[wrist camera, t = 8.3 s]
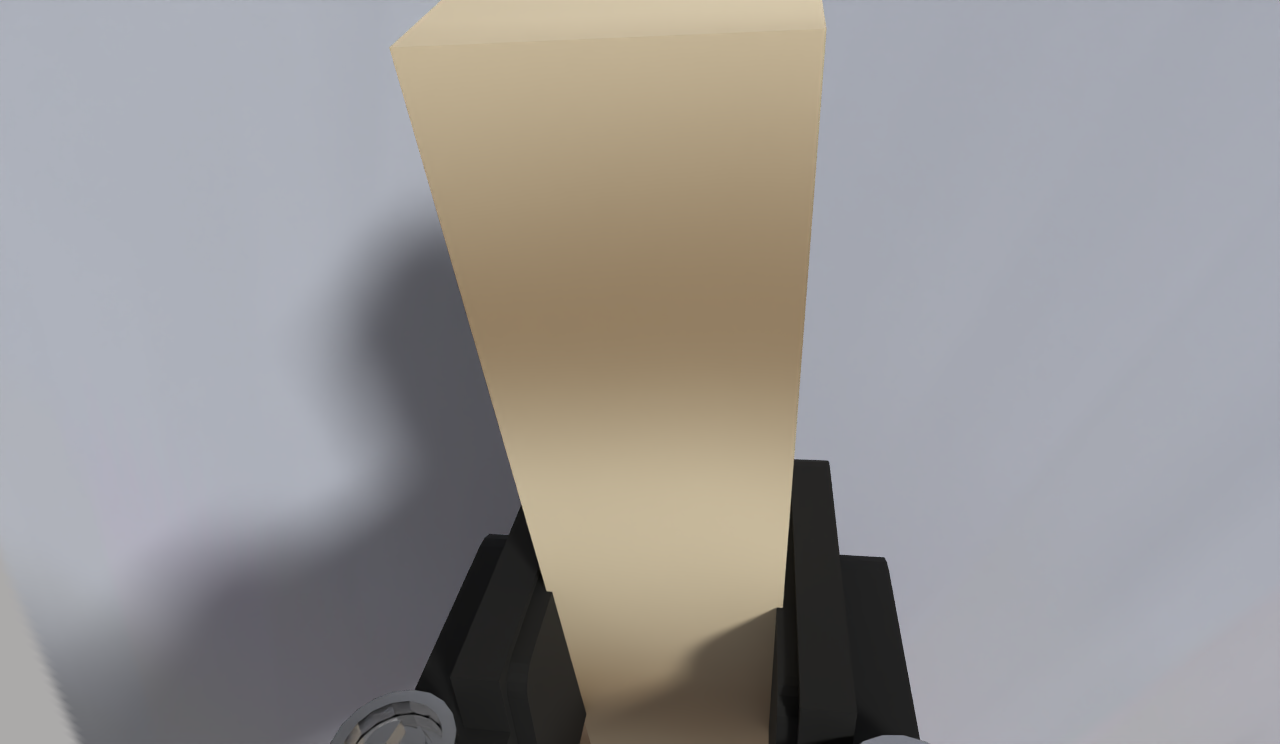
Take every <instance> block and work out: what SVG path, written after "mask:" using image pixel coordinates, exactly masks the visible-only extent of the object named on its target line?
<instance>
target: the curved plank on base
mask: <svg viewBox="0 0 1280 744" xmlns="http://www.w3.org/2000/svg"><path fill="white" fill-rule="evenodd" d="M825 41H826V23H825V17H824V11H823V5H822V0H441V1H440V2H439V3H438V4H437V5H435V6H434V7H433V8H432V9H431V10H430V11H429V12H428V13H427V14H426V15H425V16H423V17H422V18H421V19H420V20H419V21H418V22H417V23H416V24H415V25H414V26H413V27H411V28H410V29H409V30H408V31H407V32H406V33H405V34H404V35H403V36H402V37H401V38H399V39H398V40H397V41H396V42H395V43H394V44H393V45H392V46H391V47H390V51H391V55H392V58H393V62H394V65H395V69H396V72H397V76H398V79H399V82H400V86H401V89H402V93H403V96H404V100H405V103H406V107H407V110H408V114H409V117H410V121H411V124H412V127H413V131H414V134H415V138H416V141H417V145H418V148H419V152H420V155H421V159H422V162H423V165H424V169H425V172H426V176H427V179H428V183H429V186H430V190H431V193H432V197H433V200H434V204H435V207H436V210H437V214H438V217H439V221H440V224H441V228H442V231H443V235H444V238H445V242H446V245H447V248H448V252H449V255H450V259H451V262H452V266H453V269H454V273H455V276H456V280H457V283H458V286H459V290H460V293H461V297H462V300H463V304H464V307H465V311H466V314H467V318H468V321H469V325H470V328H471V331H472V335H473V338H474V342H475V345H476V349H477V352H478V356H479V359H480V363H481V366H482V369H483V373H484V376H485V380H486V383H487V387H488V390H489V394H490V397H491V401H492V404H493V408H494V411H495V414H496V418H497V421H498V425H499V428H500V432H501V435H502V439H503V442H504V446H505V449H506V452H507V456H508V459H509V463H510V466H511V470H512V473H513V477H514V480H515V484H516V487H517V491H518V494H519V497H520V501H521V504H522V508H523V511H524V515H525V518H526V522H527V525H528V529H529V532H530V535H531V539H532V542H533V546H534V549H535V553H536V556H537V560H538V563H539V567H540V570H541V574H542V577H543V580H544V584H545V587H546V591H550V592H552V593H553V596H554V600H555V604H556V607H557V611H558V614H559V618H560V621H561V625H562V629H563V632H564V636H565V639H566V643H567V646H568V650H569V653H570V657H571V661H572V664H573V668H574V671H575V675H576V678H577V682H578V686H579V689H580V693H581V696H582V700H583V703H584V707H585V711H586V718H585V723H584V727H583V732H582V736H581V740H580V744H769V716H770V701H771V686H772V671H773V656H774V640H775V625H776V610H777V608H783V597H784V584H785V571H786V557H787V544H788V531H789V518H790V504H791V491H792V478H793V465H794V451H795V438H796V425H797V412H798V398H799V385H800V372H801V359H802V345H803V332H804V319H805V306H806V292H807V279H808V266H809V253H810V239H811V226H812V213H813V200H814V186H815V173H816V160H817V147H818V133H819V120H820V107H821V94H822V80H823V67H824V54H825Z"/></svg>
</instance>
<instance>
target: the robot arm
mask: <svg viewBox="0 0 1280 744" xmlns="http://www.w3.org/2000/svg"><path fill="white" fill-rule="evenodd" d="M585 718H586V711H585V707H584V703H583V700H582V696H581V693H580V689H579V686H578V682H577V678H576V675H575V671H574V668H573V664H572V661H571V657H570V653H569V650H568V646H567V643H566V639H565V636H564V632H563V629H562V625H561V621H560V618H559V614H558V611H557V607H556V604H555V600H554V596H553V593H552V592H550V591H546V587H545V584H544V580H543V577H542V574H541V570H540V567H539V563H538V560H537V556H536V553H535V549H534V546H533V542H532V539H531V535H530V532H529V529H528V525H527V522H526V518H525V515H524V511H523V508H522V505H521V507H520V510H519V512H518V514H517V517H516V519H515V522H514V524H513V526H512V529H511V531H510V534H509V535H495V534H489V535H488V536H487V537H485V538H484V540H483V542H482V544H481V545H480V547H479V549H478V552H477V554H476V556H475V558H474V560H473V563H472V565H471V567H470V569H469V571H468V574H467V576H466V578H465V580H464V582H463V585H462V587H461V589H460V591H459V594H458V596H457V598H456V600H455V602H454V605H453V607H452V609H451V611H450V613H449V616H448V618H447V620H446V622H445V624H444V627H443V629H442V631H441V633H440V635H439V638H438V640H437V642H436V644H435V646H434V649H433V651H432V653H431V655H430V657H429V660H428V662H427V664H426V666H425V668H424V671H423V673H422V675H421V677H420V679H419V682H418V684H417V686H416V688H415V690H406V691H396V692H392V693H389V694H387V695H384V696H381V697H378V698H375V699H374V700H372V701H371V702H369V703H367V704H366V705H364V706H363V707H361V708H359V709H358V710H357V711H356V712H355V713H354V714H353V715H351V716H350V717H349V718H348V719H347V720H346V721H345V722H344V723H343V724H342V725H341V727H340V729H339V730H338V732H337V733H336V735H335V737H334V738H333V740H332V741H331V743H330V744H580V740H581V736H582V732H583V727H584V723H585ZM769 744H929V743H927V742H926V741H922V740H920V737H919V732H918V726H917V721H916V715H915V710H914V705H913V699H912V694H911V688H910V683H909V677H908V672H907V666H906V661H905V656H904V650H903V645H902V639H901V634H900V628H899V623H898V617H897V612H896V607H895V601H894V596H893V590H892V585H891V579H890V574H889V569H888V565H887V562H886V560H885V558H884V557H868V556H851V555H839V546H838V537H837V528H836V519H835V510H834V501H833V492H832V483H831V474H830V465H829V461H823V460H799V459H794V465H793V478H792V491H791V504H790V518H789V531H788V544H787V557H786V571H785V584H784V597H783V608H777V610H776V625H775V640H774V656H773V671H772V686H771V701H770V716H769Z"/></svg>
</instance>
